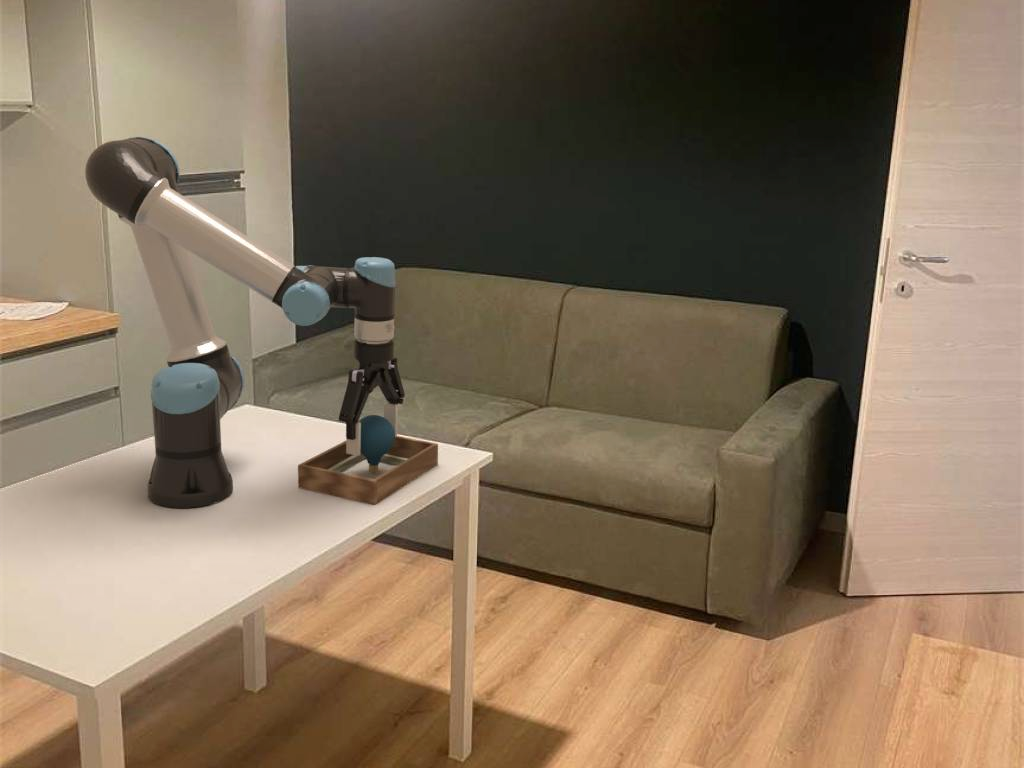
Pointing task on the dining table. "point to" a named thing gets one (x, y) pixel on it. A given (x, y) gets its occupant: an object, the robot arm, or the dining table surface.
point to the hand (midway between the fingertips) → (372, 444)
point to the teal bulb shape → (375, 439)
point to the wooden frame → (330, 479)
